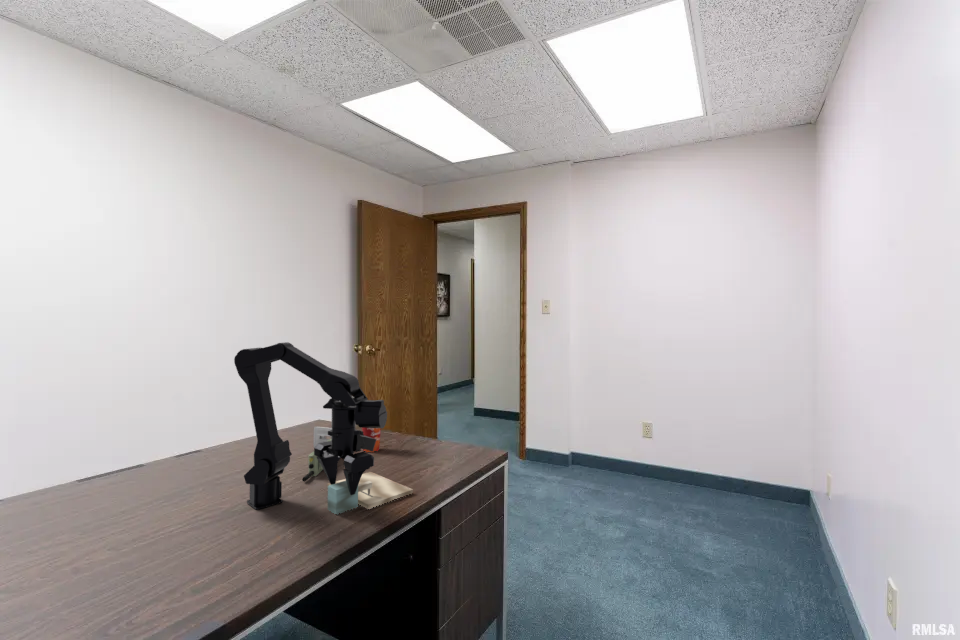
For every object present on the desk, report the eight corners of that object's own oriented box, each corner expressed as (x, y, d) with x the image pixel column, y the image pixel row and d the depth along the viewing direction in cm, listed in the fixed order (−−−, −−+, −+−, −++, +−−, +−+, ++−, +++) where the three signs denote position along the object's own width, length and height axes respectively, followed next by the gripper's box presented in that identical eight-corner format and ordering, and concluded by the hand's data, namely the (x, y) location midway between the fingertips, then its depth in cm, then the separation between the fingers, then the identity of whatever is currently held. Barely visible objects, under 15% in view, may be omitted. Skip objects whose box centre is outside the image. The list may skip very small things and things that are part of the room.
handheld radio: (339, 457, 153) (310, 484, 128) (329, 457, 153) (298, 484, 128) (338, 437, 153) (309, 460, 128) (329, 437, 153) (298, 460, 128)
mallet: (335, 515, 107) (336, 490, 107) (327, 510, 110) (327, 485, 110) (374, 501, 116) (375, 478, 115) (366, 497, 118) (366, 474, 118)
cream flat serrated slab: (368, 509, 111) (368, 504, 111) (327, 488, 124) (327, 483, 124) (412, 493, 121) (412, 489, 121) (370, 475, 134) (370, 471, 134)
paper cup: (369, 454, 155) (370, 414, 155) (355, 450, 160) (356, 411, 160) (387, 449, 161) (387, 410, 161) (373, 445, 166) (373, 408, 166)
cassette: (344, 450, 160) (344, 428, 160) (341, 451, 159) (341, 429, 159) (315, 447, 164) (315, 426, 164) (312, 448, 162) (312, 427, 162)
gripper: (393, 427, 111) (392, 490, 111) (352, 415, 123) (351, 472, 123) (352, 435, 102) (351, 504, 102) (313, 422, 115) (312, 483, 115)
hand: (342, 489), depth 111 cm, fingers open, 9 cm apart
